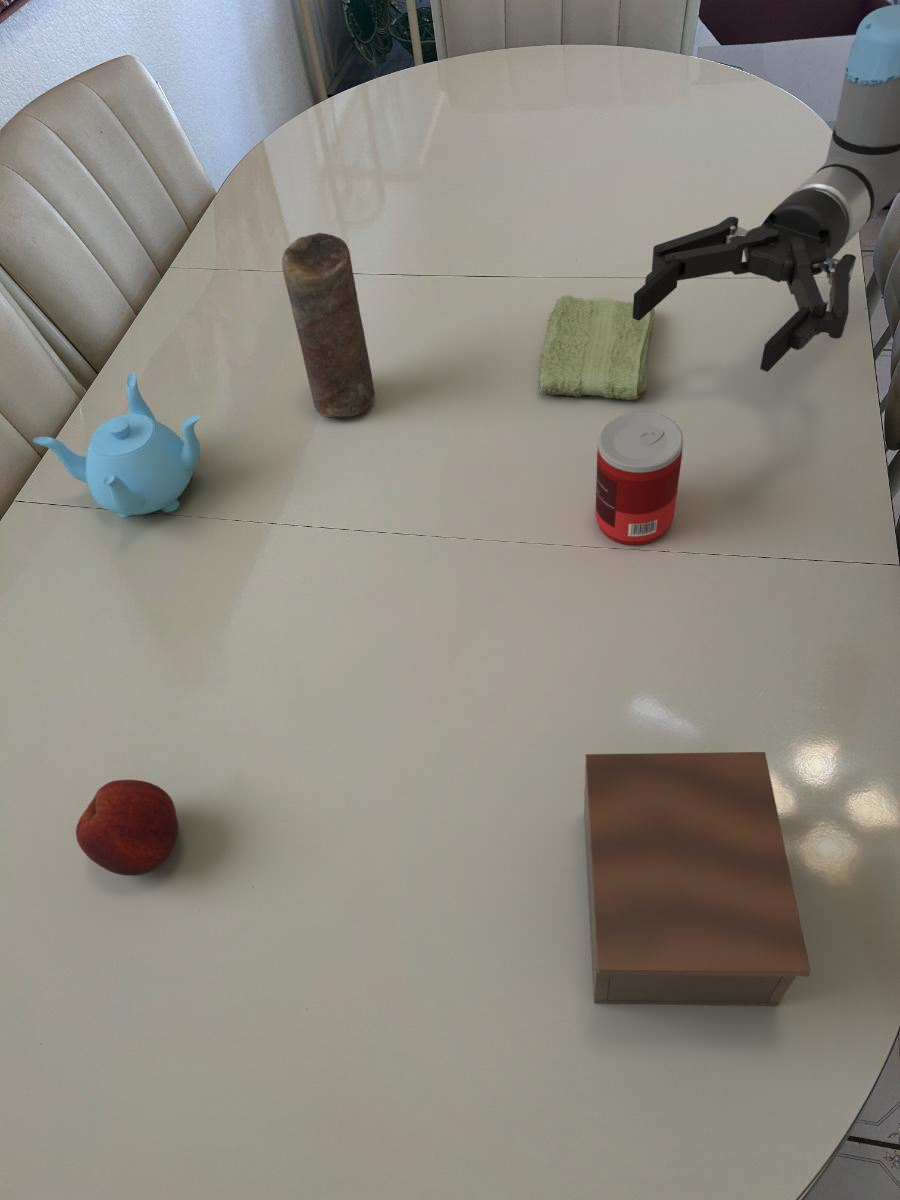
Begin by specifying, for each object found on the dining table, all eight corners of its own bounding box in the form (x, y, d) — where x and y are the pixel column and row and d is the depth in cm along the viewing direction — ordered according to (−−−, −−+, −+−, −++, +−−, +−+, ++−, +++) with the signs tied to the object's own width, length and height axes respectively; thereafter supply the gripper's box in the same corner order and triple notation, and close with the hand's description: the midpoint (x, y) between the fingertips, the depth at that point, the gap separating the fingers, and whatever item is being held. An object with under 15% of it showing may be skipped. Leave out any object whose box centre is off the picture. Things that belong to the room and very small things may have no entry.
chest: (778, 1006, 66) (802, 966, 59) (594, 1003, 67) (597, 965, 60) (745, 811, 75) (763, 757, 68) (584, 812, 76) (585, 759, 69)
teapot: (230, 484, 105) (203, 415, 97) (135, 555, 99) (98, 488, 91) (161, 438, 111) (130, 369, 103) (69, 503, 105) (28, 435, 97)
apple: (135, 793, 81) (99, 747, 75) (210, 821, 79) (179, 777, 73) (84, 870, 77) (42, 829, 71) (162, 902, 75) (125, 863, 69)
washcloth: (656, 314, 116) (658, 291, 113) (644, 407, 106) (646, 384, 103) (551, 310, 119) (551, 287, 116) (529, 400, 108) (529, 378, 106)
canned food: (688, 513, 95) (700, 431, 86) (641, 560, 92) (648, 480, 83) (627, 480, 99) (633, 399, 90) (579, 524, 96) (581, 444, 87)
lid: (808, 977, 57) (810, 972, 57) (598, 974, 59) (598, 970, 58) (763, 757, 68) (765, 751, 67) (585, 759, 69) (585, 753, 68)
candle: (384, 385, 113) (355, 232, 97) (371, 426, 108) (338, 272, 93) (324, 383, 114) (285, 231, 98) (308, 423, 110) (265, 271, 94)
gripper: (924, 295, 91) (817, 415, 83) (701, 222, 103) (587, 321, 94) (949, 224, 85) (836, 345, 77) (709, 155, 97) (588, 253, 88)
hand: (698, 332), depth 85 cm, fingers open, 13 cm apart
